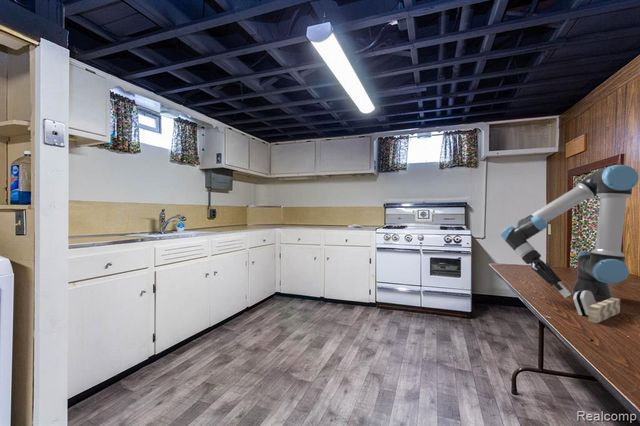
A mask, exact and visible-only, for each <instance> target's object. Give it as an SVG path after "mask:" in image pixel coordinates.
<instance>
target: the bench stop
mask: <svg viewBox="0 0 640 426" xmlns="http://www.w3.org/2000/svg"><path fill="white" fill-rule="evenodd" d="M620 311H621V298H617V297H613V296H612V298H609V299H607V300H604V301H598V302H596V304H593V305H591V306H589V311H588V315H587V317H588V318H587V322H589V323H592V324H599V323H601V322H603V321H606V320H607V319H610V318H611V317H613V316H616V315H619V313H620Z"/></svg>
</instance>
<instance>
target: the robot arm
mask: <svg viewBox="0 0 640 426" xmlns="http://www.w3.org/2000/svg"><path fill="white" fill-rule="evenodd" d="M639 178H640V177H639V173H638V172H637V170H636V169H635V168H633V167H632V166H630V165H626V164H617V165H610V166H608V167H603V168H601V169H598V170H596V171H594V172H593V173H591V174H590V175H589V176H587V177H586V178H584V179H582V180H581V181H579V182H578V183H577V186H576V187H574V188H572V189H571V190H569V191H567V192H565V193H564V194H562V195H560V196H559V197H557V198H556V199H554V200H553V201H550V202H549V203H547V204H546V205H544V206H542V207H541V208H539V209H538V210H536V211H534V212H532V213H531V214H529V215H528V216H526V217H524V218H521V219H519V220H518V221H517V222H516V227H515V226H512V225H510V226H508V227H506V228H504V229H503V230H502V231H501V233H500V237H501V239H503V240H504V241H505V243H506V244H508V246H510V248H511V249H512V250H513V251H514V252H515V254H516V255H517V256H519V258H521V259H522V261H523V262H524V263H525V264H526V265H531V266H532V267H531V270H533V271H534V272H536V274H538V275H539V276H540V277H541V278H542V279H543V280H544V281H545V282H546V283H547V284H548V285H550V286H551V287H552V286H553V287H554V288H555V289H556V290H557V291H558V293H560V294H561V295H562V296H563V297H564V298H565V299H566V298H568V297H569V296H571V295H573V296H574V294H575V293H576V292H578V291H590V292H592V294H593V296H594V298H595V301H596V302H601V301H604V300H607V299H609V298H612V297H613V294H612V291H611V289H610V286H609V285H617V284H620V283H622V282H624V281H626V279H627V278H628V276H629V273H630V269H629V268H628V265H626V262H625V259H626V255H625V254H624V253H623V252H622V245H623V244H622V243H623V235H624V233H623V232H624V222H625V214H626V213H625V212H626V205H627V204H626V203H627V199H629V198H630V197H631V196H632V193H633V188H634V187H636V185H638V182H639V180H640V179H639ZM596 197H599V198H600V200H599V208H598V210H599V211H598V218H597V219H598V220H597V227H596V228H597V229H596V239H595V246H594V247H595V248H594V249H592V250H591V251H585V250H583V251H578V253H577V254H578V255H577V267H576V269H577V271H576V272H577V273H576V275H577V277H576V281H575V283H574V285H573V287H572V289H571V291H569V290H568V289H567V287H565V285H564V284H562V282H561V281H562V279H561V278H560V277H559V276H558V274H557V273H556V272H555V271H554V270H553V269H552V267H551V266H550V264H549V263H548V262H546V263H545V262H544V261H543V260H541V257H542V254H541V253H539V251H538V250H536V249H535V247H534V246H533V245H532V244H531V243H530V242H529V241H527V240H529V239H531V238H533V236H535V235H537V234H539V233H540V232H542V231H544V230H545V229H546V228H547V227H548V222H550V221H552V220H553V219H555V218H557V217H559V216H560V215H562V214H563V213H566V212H567V211H569V210H571V209H572V208H575V207H576V206H578V205H579V204H580V203H583V202H585V201H586V200H587V199H593V198H596Z"/></svg>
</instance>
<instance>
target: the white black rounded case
mask: <svg viewBox="0 0 640 426" xmlns="http://www.w3.org/2000/svg"><path fill="white" fill-rule="evenodd" d="M572 300H573V302H574V306H575V308H576V312H577V314H578V316H583V315H586V316H588V311H589V306H591V305H593V304H596V303H597V300H595V298H594V296H593V294H592V292H590V291H578V292H576V293H575V294H574V295H573V298H572Z"/></svg>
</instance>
